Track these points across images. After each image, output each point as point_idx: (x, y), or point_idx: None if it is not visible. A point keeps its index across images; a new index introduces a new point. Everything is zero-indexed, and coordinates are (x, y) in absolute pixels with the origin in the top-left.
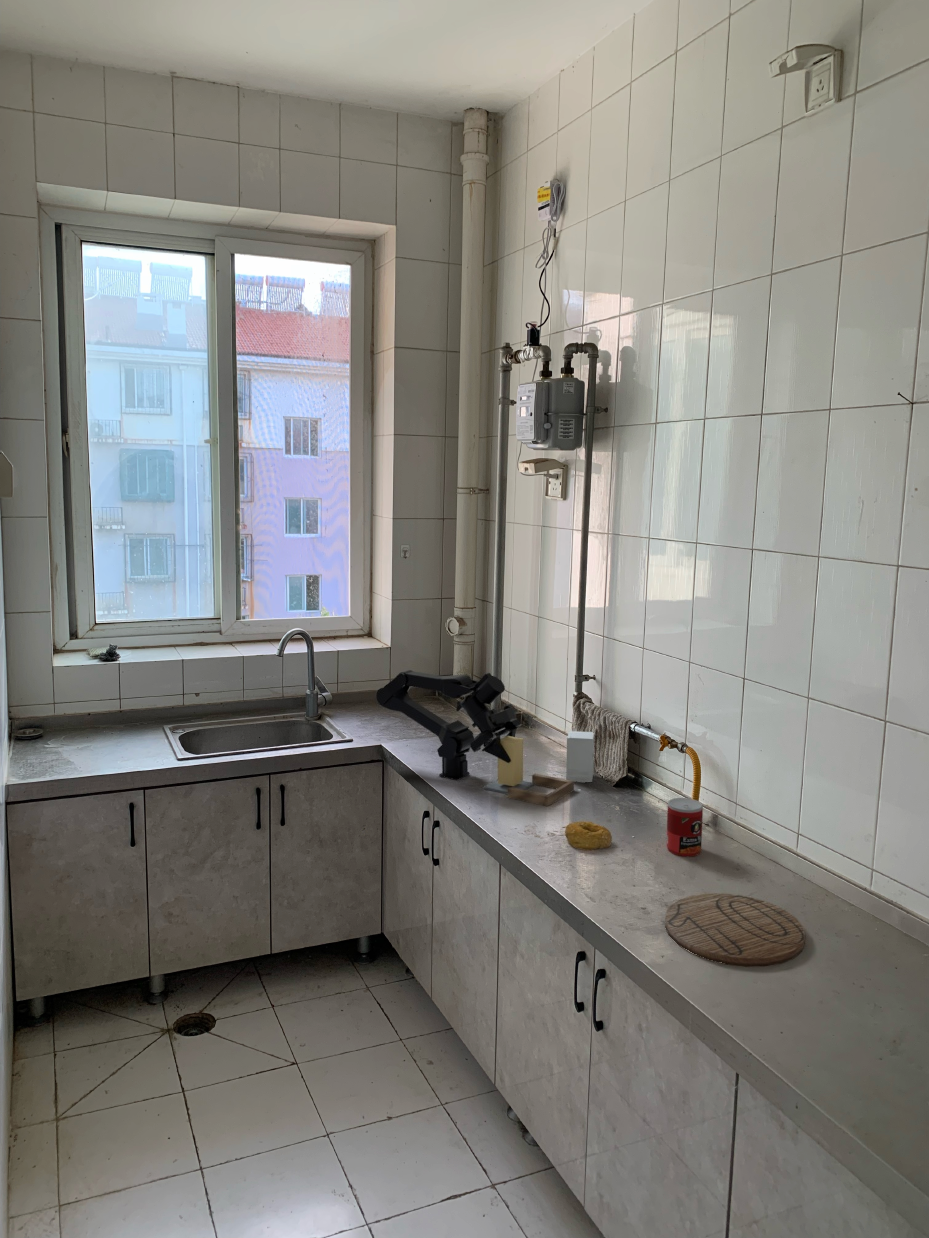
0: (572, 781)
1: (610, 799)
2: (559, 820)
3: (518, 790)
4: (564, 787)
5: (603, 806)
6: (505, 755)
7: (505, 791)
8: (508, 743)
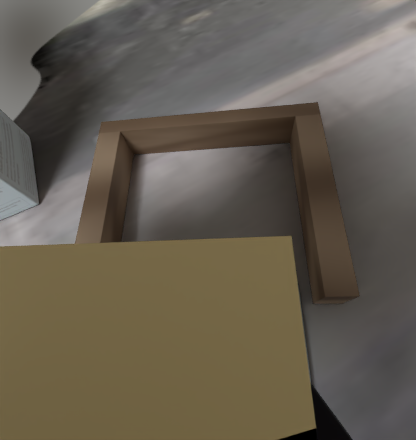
0: (106, 124)
1: (146, 49)
2: (387, 55)
3: (343, 232)
4: (179, 116)
5: (205, 37)
6: (327, 410)
7: (306, 346)
8: (313, 433)
